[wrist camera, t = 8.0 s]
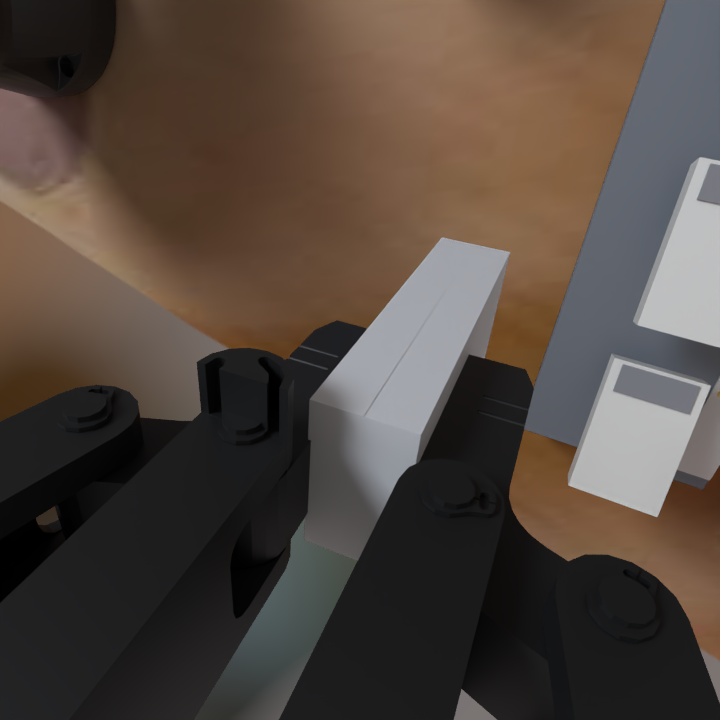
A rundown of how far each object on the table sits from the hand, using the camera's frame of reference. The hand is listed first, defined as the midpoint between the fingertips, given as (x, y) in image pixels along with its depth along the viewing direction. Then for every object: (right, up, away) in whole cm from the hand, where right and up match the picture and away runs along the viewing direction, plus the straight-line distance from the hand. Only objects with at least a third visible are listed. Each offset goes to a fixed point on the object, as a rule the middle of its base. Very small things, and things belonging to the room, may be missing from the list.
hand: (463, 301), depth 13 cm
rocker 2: (+14, -6, +20) cm, 25 cm away
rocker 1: (+15, +4, +14) cm, 21 cm away
